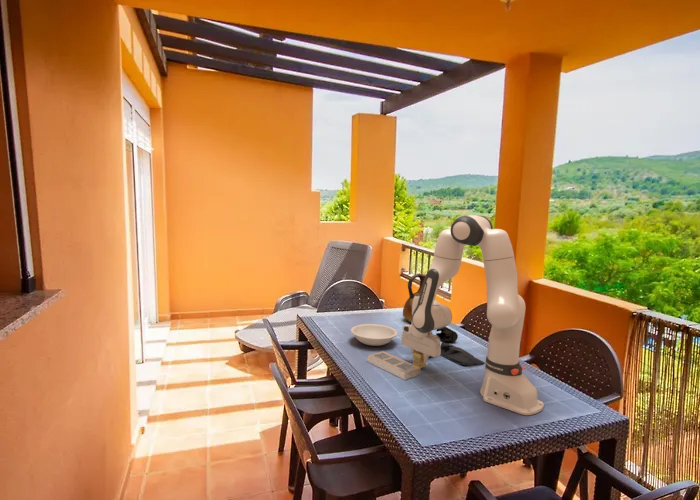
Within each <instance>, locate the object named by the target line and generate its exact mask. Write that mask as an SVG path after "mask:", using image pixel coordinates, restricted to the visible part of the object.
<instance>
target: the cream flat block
mask: <svg viewBox="0 0 700 500" xmlns="http://www.w3.org/2000/svg"><path fill="white" fill-rule="evenodd" d="M367 362H368V363H369V364H372V365H373V366H375V367H377V368H379V369H381V370H383V371H385V372H387V373H389V374H392V375H393V376H396V377H398V378H400V379H402V380H404V381H405V380H409V379H411V378H415V377H418V376H420V375H421V371H422V370H421V369H422V367H421V368H420V367H418V366H416V365H413V363H410V362H409V361H406V360H404V359H402V358H400V357H398V356H395V355H393V354H390V353H388V352H386V351H384V350H382V351H379V352H375V353H371V354H367Z"/></svg>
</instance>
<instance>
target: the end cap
mask: <svg viewBox="0 0 700 500" xmlns="http://www.w3.org/2000/svg"><path fill="white" fill-rule="evenodd" d="M435 335H437V336H438V337H439V339H440V343H447V344H451V345H453V344H454V343H456V341H457V340H458V333H457V332H456V331H454V330H453V329H451V328H449V327H448V326H446V327H443V328H440V329H436V333H435Z"/></svg>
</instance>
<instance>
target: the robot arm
mask: <svg viewBox="0 0 700 500" xmlns="http://www.w3.org/2000/svg"><path fill="white" fill-rule="evenodd" d="M466 246H471V247H472V246H473V247H477V246H478V247H479V248H480V251H481V254H482V261H483V269H484V274H485V281H486V305H487V308H486V317H487V320H488V322H489V324H491V328H490V333H489V336H488V345H487V356H485V357H486V358H485V362H484V363H485V364H484V365H485V366H484V367H485V373H484V378H483V381H482V385H481V387H480V389H479V393H480V395H481V396H482V400H483V401H484V402H485V403H487V404H488V403H489V404H491V405H494V406H496V407H500V408H501V409H502V408H503V409H505V410H508V411H512V412H514V413H517V414H520V415H522V416H532V415H536V414H538V413H540V412H541V411H542V410H543V409H544V407H545V406H544V405H545V404H544V402H543V401H542V400H540V399H538V398H539V397H538V391H537V387H536V386H535V385H533V383H531V381H530V380H529V379H528V378H527V377H526V375H524V374H523V370H525V368H526V366H525V365H523V366H521V364H520V363H521V362H520V361H519V358H520V346H521V338H522V334H523V328H524V321H525V316H526V315H525V314H526V302H525V300H524V298H523V297H522V296H521V295H520V294H519V293H518V292H519V290H518V279H519V278H518V271H517V265H516V260H515V259H516V258H515V253H514V249H513V245H512V242H511V239H510V237H509V234H508V232H507V231H506V230H504V229H501V228H494V227H493V223H492V222H491V220H490V219H489V218H487V217H486V216H483V215H475V214H469V215H468V214H467V215H462V216H460V217H458V218H457V217H456V219H455V220H453V222H452V223H451V226H450V228H447V229H443V230H442V231H441V232H440V233H439V234H438V237H437V240H436V244H435V248H434V253H433V259H432V262H431V265H430V267H429V269H428V271H427V272H426V274H425V275H426V276H425V279H424V282H423V286H422V289H421V293H420V294H419V295H416V296H415V297H414V299H413V304H412V322H410V323H411V324H410V323H409V324H406V325H403V326H402V327H401V328H402V332H401V345H402V346H404V347H407V348H409V349H410V351H411V352H410V353H411V354H412V359H413V358H414V352H415V351H419V352H422V353H424V356H425V357H424V358H423V359H422V362H423V363H426V364H427V363H428V358H429V356H432V358H439V357H440V356H441V341H440V339H439V337H438V336H437V335H436V334H434V333H433V331H435V330H436V331H437V329H440V328H443V327H448V326H450V324H451V323H452V321H453V315H452V311H451V309H450V308H449V307H448V306H447V305H445V304H443V303H440V302H439V301H437V300H436V296H437V294H438V290H439V288H441V286H442V285H444V283H446V282H448V281H449V280H451V279H453V278H454V277H455V276H456V275H457V274H458V272H459V271H460V268H461V265H462V258H463V252H464V249H465V247H466ZM431 332H432V334H431ZM429 359H430V358H429Z"/></svg>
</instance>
